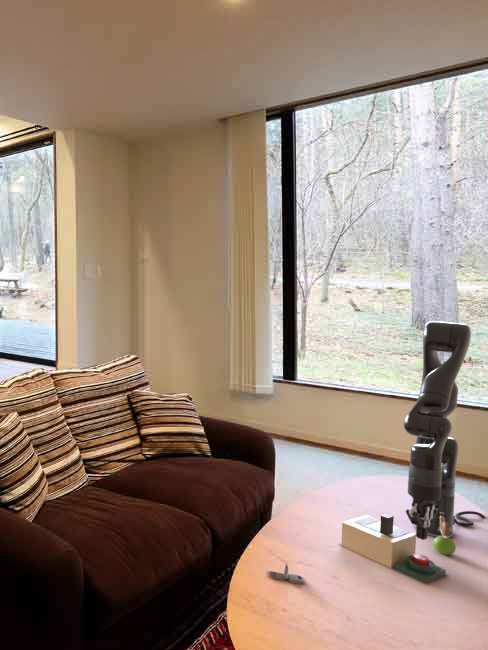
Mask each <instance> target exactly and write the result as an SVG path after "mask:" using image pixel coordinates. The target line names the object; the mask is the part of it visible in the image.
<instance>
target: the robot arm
mask: <svg viewBox="0 0 488 650" xmlns="http://www.w3.org/2000/svg"><path fill="white" fill-rule="evenodd" d="M471 337H472V331H471V326H469V325H468V324H465V323H458V322H447V321H446V322H445V321H428V322H426V324H425V326H424V327H423V333H422V377H421V383H420V384H421V385H420V388H419V389H420V390H419V394H418V397H417V400H416V402H415V403H414V405H413V407H412V408H411V409H410V410H409V412H407V414H406V415H405V417H404V421H403V428H404V430H405V432H406V433H407V434H408V435H409V436H412V437H413V436H414V437H416V441H415V444H413V445H412V446H411V447H410V457H409V458H410V459H409V467H408V477H407V478H408V479H407V494H408V495H409V496H410V497H411V498H412V501H411V508H410V509H409V508H408V509H406V510H405V514H406V515H407V517H408V519H409V521H410V523H411V524H412V525H414V526H416V532H415V534H416V539H420V540H423V541H424V540H427V539H428V538H429V537H428V536H432V537H434V538H436V537H438V536H442V534H441V531H440V512H444V514H441V516H443V517H444V518H445V520H444V521H446V522H447V523H448V524H449V534H448V537H449V538H450V539H451V538H453V536H454V534H453V533H454V525H458V526H464V527H472V526H474V524H475V523H474V522H473V521H472V520H470V519H467V518H465V517H463V515H476V516H479V517H480V518H482V519H486V517H485V515H484V514H483V513H481V512H478V511H473V510H465V511H460V512H457V513H456V514H455V498H456V497H455V494H456V474H457V473H456V472H457V462H458V457H459V444H458V441H457V439H455V438H454V437H449V436H450V434H451V433H452V429H453V426H452V423H451V420H449V418H448V417H449V416H450V415H451V414H452V413H453V412H454V411H455V410H456V408H457V406H458V397H459V396H458V395H459V388H458V385H457V383H456V380H457V377H458V374H459V372H460V370H461V368H462V365H463V363H464V360H465V357H466V356H467V352H468V350H469V347H470V344H471V339H472V338H471ZM438 352H442V353H451V354H450V356H449V357H448V358H447V359H446V360H445V361H444V362H443V363H442V362H441V360H440V358H439V354H438ZM454 514H455V515H454ZM456 518H457V519H458V520H461V521H458V520H457V519H456ZM462 521H463V522H462Z"/></svg>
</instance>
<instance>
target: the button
mask: <svg viewBox="0 0 488 650" xmlns="http://www.w3.org/2000/svg"><path fill="white" fill-rule="evenodd" d="M428 560H430V558H429V557H428V556H426V555H424V554H420V553H415V554H413V561H414V562H415V563H418V564H421V565H428Z"/></svg>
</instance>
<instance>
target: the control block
mask: <svg viewBox="0 0 488 650" xmlns="http://www.w3.org/2000/svg"><path fill="white" fill-rule="evenodd" d="M394 570H395V571H397V572H399V573H401V574H403V575H406V576H408V577H410V578H412V579H413V580H416V581H419V582H421V583H423V584H428V583H430V582H432V581H435V580H437V579H440V578H443V577H445V576H446V573H447V570H446V569H445V568H443V567H440V566H438V565H436V564H435V562H433V561H432V560H431V559H429V560H428V565H421V564H418V563H415V562H414V561H413V556H412V555H410V556H407V557H406V561H403V562H400V563H398V564H395V567H394Z"/></svg>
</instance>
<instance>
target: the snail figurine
mask: <svg viewBox="0 0 488 650" xmlns="http://www.w3.org/2000/svg"><path fill="white" fill-rule="evenodd" d="M441 514H444V512H440V531H441V534H442V536H438V537H434V539H433V541H432V545H433V547H434V549H435V550H436V551H437V552H438V553H440V554H442V555H446V556H447V555H452V554H453V553H454V552H455V551H456V548H457V546H456V544H455V541H454V540H453V539H451V537H450V538H449V537H448V534H449V524H448V523H447V522H446V521H444V520H445V518H444V517H443V516H441Z"/></svg>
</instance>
